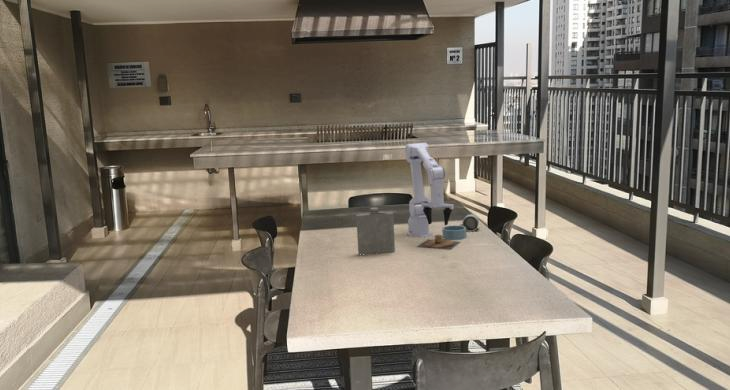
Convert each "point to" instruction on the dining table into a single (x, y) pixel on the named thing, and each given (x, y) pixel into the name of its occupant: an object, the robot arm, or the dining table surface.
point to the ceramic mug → (470, 222)
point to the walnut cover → (438, 242)
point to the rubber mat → (440, 248)
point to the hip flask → (375, 232)
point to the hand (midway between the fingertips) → (438, 224)
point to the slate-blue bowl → (454, 232)
